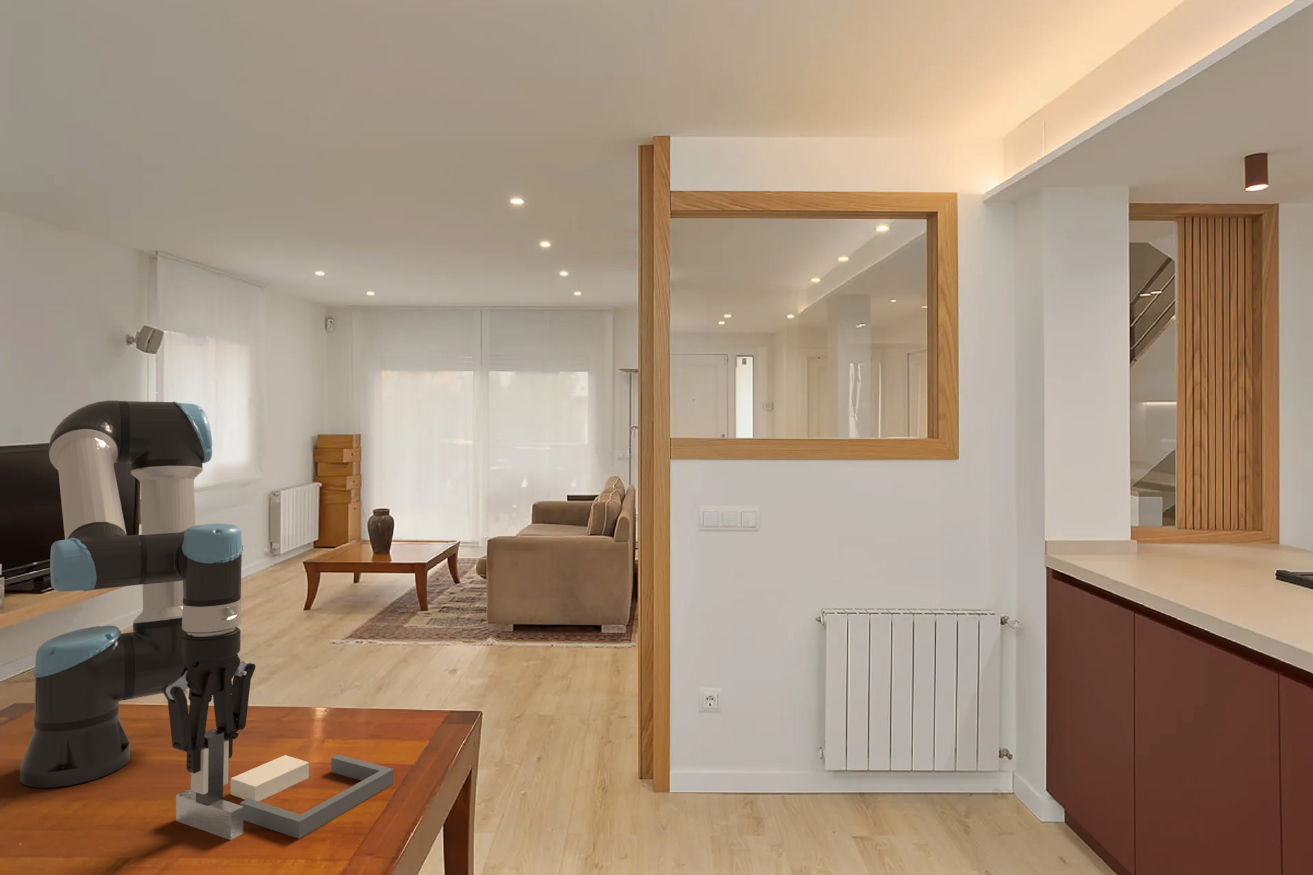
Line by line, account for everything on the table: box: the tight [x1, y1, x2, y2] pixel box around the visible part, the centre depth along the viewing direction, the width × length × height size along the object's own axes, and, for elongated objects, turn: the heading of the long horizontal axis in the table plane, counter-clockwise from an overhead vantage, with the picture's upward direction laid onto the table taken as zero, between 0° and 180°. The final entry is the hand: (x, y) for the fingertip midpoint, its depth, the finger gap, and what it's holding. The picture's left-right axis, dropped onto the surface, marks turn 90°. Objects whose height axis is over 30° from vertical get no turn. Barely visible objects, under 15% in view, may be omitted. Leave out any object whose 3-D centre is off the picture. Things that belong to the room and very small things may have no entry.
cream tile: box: [230, 754, 310, 802], centre depth 126 cm, size 6×10×3 cm, turn 154°
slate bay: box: [239, 754, 395, 840], centre depth 122 cm, size 12×19×2 cm, turn 156°
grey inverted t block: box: [175, 728, 244, 841], centre depth 113 cm, size 12×2×14 cm, turn 66°
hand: (209, 786), depth 113 cm, fingers closed on grey inverted t block, 2 cm apart
